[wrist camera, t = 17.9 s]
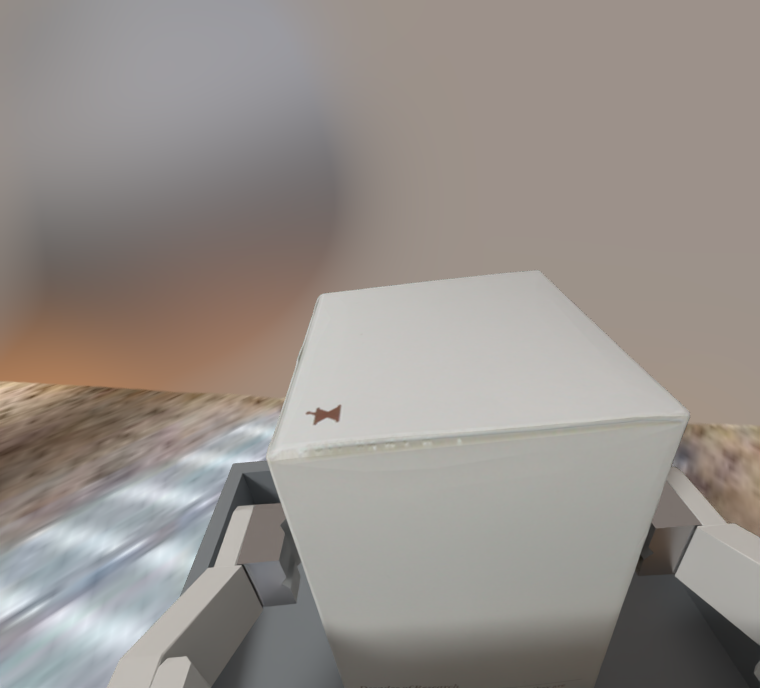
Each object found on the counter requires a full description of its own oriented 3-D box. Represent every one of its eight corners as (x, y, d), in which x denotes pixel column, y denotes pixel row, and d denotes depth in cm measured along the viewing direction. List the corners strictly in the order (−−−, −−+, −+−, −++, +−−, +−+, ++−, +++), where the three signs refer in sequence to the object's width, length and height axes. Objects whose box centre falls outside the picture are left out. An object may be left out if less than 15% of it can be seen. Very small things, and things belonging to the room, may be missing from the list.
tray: (120, 902, 11) (65, 881, 9) (248, 501, 22) (232, 463, 21) (882, 866, 10) (955, 838, 9) (613, 469, 21) (624, 427, 20)
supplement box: (589, 730, 12) (718, 421, 6) (353, 738, 13) (244, 457, 6) (518, 520, 19) (545, 262, 12) (363, 530, 19) (313, 286, 13)
